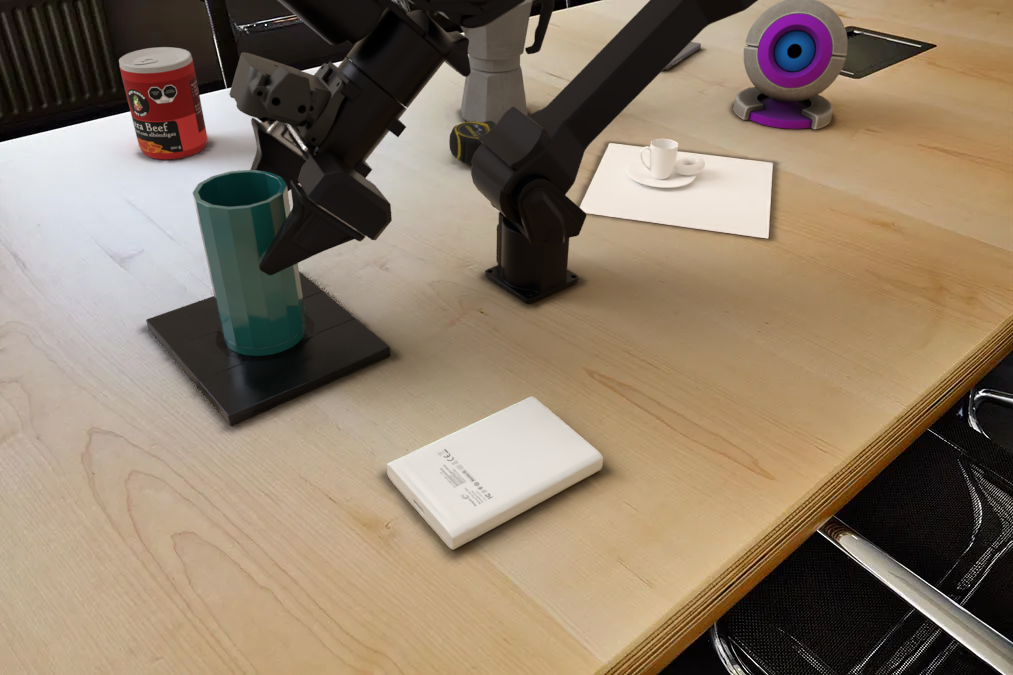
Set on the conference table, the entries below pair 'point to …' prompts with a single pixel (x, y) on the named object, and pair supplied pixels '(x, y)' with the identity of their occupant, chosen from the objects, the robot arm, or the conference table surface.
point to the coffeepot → (500, 63)
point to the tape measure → (467, 139)
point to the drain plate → (272, 378)
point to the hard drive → (493, 470)
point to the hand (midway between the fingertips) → (250, 243)
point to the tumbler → (249, 261)
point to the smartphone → (684, 53)
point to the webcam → (792, 65)
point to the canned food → (164, 102)
